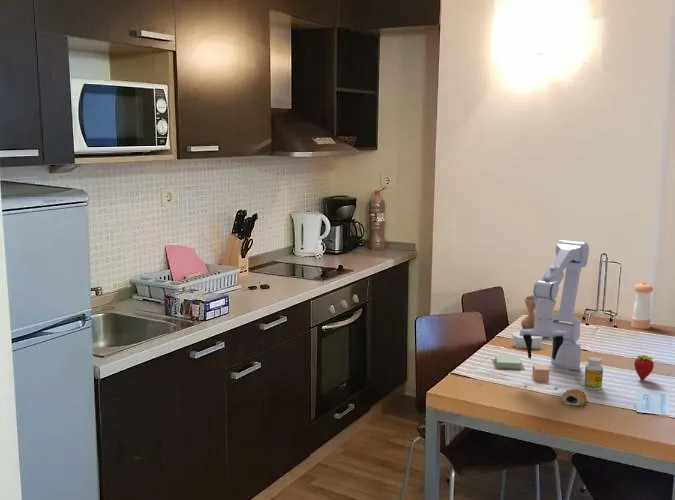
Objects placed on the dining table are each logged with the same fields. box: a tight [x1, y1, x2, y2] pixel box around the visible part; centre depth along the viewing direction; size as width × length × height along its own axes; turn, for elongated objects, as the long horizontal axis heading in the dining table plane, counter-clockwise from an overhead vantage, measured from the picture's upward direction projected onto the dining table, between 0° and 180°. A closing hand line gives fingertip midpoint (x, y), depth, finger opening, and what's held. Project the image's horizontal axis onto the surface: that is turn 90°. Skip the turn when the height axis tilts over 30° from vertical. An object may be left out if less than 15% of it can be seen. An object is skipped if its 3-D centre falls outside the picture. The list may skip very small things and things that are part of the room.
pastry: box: [560, 389, 587, 407], centre depth 212 cm, size 9×7×4 cm
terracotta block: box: [531, 364, 550, 382], centre depth 228 cm, size 4×4×5 cm
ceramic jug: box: [520, 294, 557, 329], centre depth 284 cm, size 18×14×14 cm
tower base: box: [491, 358, 525, 371], centre depth 241 cm, size 10×10×2 cm
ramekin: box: [511, 330, 544, 350], centre depth 264 cm, size 11×11×5 cm
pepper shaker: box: [630, 281, 654, 330], centre depth 292 cm, size 7×7×19 cm
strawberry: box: [633, 354, 655, 381], centre depth 229 cm, size 6×8×10 cm
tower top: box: [494, 354, 522, 369], centre depth 241 cm, size 8×8×2 cm
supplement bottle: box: [584, 356, 604, 391], centre depth 223 cm, size 5×5×10 cm
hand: (541, 358), depth 227 cm, fingers open, 7 cm apart
